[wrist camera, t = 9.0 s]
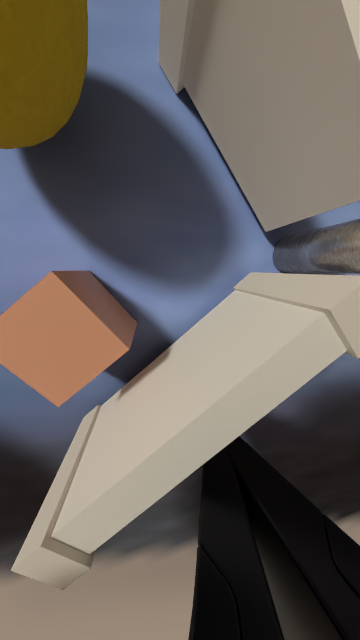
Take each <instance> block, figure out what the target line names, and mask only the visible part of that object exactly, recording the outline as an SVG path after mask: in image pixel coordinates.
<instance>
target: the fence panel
mask: <svg viewBox="0 0 360 640" xmlns="http://www.w3.org/2000/svg"><path fill="white" fill-rule="evenodd" d="M159 65H160V66H161V68H162V70H163V72H164V73H165V75H166V77H167V78H168V80H169V82H170V84H171V85H172V87H173V89H174V91H175V92H176V94H177V93H179V92H180V91H181V90H182V89H183V88H184V87H185V88H186V90H187V92H188V94H189V96H190V97H191V99H192V101H193V103H194V105H195V106H196V108H197V110H198V112H199V114H200V115H201V117H202V119H203V121H204V123H205V124H206V126H207V128H208V130H209V131H210V133H211V135H212V137H213V139H214V140H215V142H216V144H217V146H218V148H219V149H220V151H221V153H222V155H223V157H224V158H225V160H226V162H227V164H228V166H229V167H230V169H231V171H232V173H233V175H234V176H235V178H236V180H237V182H238V183H239V185H240V187H241V189H242V191H243V192H244V194H245V196H246V198H247V200H248V201H249V203H250V205H251V207H252V209H253V210H254V212H255V214H256V216H257V218H258V219H259V221H260V223H261V225H262V226H263V228H264V230H265V232H267V231H270V230H273V229H276V228H279V227H282V226H285V225H288V224H291V223H294V222H297V221H300V220H303V219H306V218H309V217H312V216H315V215H318V214H321V213H324V212H327V211H330V210H333V209H336V208H339V207H341V206H344V205H347V204H350V203H353V202H356V201H359V200H360V0H160V20H159Z"/></svg>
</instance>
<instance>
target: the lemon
mask: <svg viewBox="0 0 360 640" xmlns="http://www.w3.org/2000/svg"><path fill="white" fill-rule="evenodd" d="M87 57H88V14H87V0H0V148H2V149H14V148H21V147H29V146H35V145H37V144H39V143H41V142H43V141H45V140H47V139H49V138H51V137H53V136H54V135H55V134H56V133H57V132H58V131H59V130H60V129H61V128H62V127H63V126H64V125H65V124H66V123H67V122H68V120H69V119H70V117H71V115H72V113H73V111H74V109H75V107H76V106H77V104H78V101H79V98H80V95H81V90H82V86H83V82H84V78H85V73H86V69H87Z"/></svg>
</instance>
